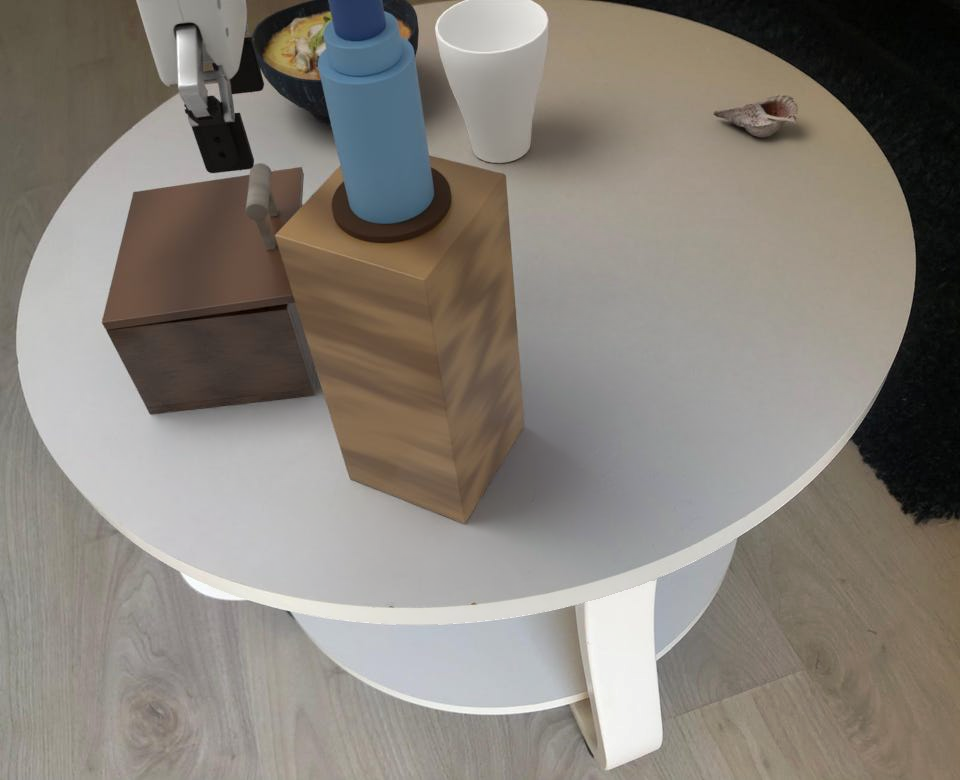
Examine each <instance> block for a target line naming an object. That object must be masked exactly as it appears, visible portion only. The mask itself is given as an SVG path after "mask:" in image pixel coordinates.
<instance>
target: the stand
mask: <svg viewBox="0 0 960 780" xmlns="http://www.w3.org/2000/svg"><path fill="white" fill-rule="evenodd" d="M429 159H430V166H431V167H432V168H434V169H436V170H437V171H439V172H440V173H441V174H442V175H443V176H444V177H445V178H446V180H447V181H448V183H449V186H450V189H451V197H452V199H451V205H450V208H449V211H448V213H447V214H446V216H445V217H444V218H443V219H442V221H441V222H440V223H439V224H437V225H436V226H435V227H434V228H432V229H431V230H429V231H427V232H426V233H424V234H422V235H419V236H417V237H414V238H411V239H408V240H404V241H399V242H392V243H375V242H368V241H363V240H360V239H357V238H354V237H352V236H350V235H348V234H347V233H345V232H344V231H343V230H342V229H341V228H340V227H339V226H338V225H337V223H336V221H335V219H334V216H333V212H332V198H333V196H334V193H335V191H336V190H337V188H338V187H339V186H340V184H341V183H342V182H343V181H344V179H343V175H342V170H341V166H340V165H339V166H338V167H337V168H336V169H335V170H334V172H333V173H331V175H329V177H328V178H327V179H325V181H323V183H322V184H321V185H320V186H319V187H318V189H316V190H315V192H314V193H312V195H311V196H310V197H309V198H308V199H307V200H306V201H305V202H304V203H303V204H302V205H303V206H302V207H301V208H300V209H299V210H298V211H297V212H296V213H295V214H294V215H293V216H292V217H291V219H290V220H289V221H288V222H287V223H286V224H285V225H284V226H283V227H282V228H281V229H280V230H279V231H278V232H277V233H276V235H275V237H276V241H277V244H278V247H279V250H280V254H281V257H282V260H283V263H284V267H285V270H286V273H287V276H288V280H289V283H290V286H291V289H292V293H293V296H294V299H295V303H296V306H297V309H298V312H299V316H300V319H301V322H302V325H303V329H304V332H305V335H306V338H307V342H308V345H309V348H310V351H311V355H312V358H313V361H314V365H315V372H316V375H317V378H318V380H319V384H320V387H321V390H322V394H323V397H324V400H325V404H326V407H327V410H328V414H329V416H330V420H331V424H332V426H333V431H334V433H335V436H336V440H337V443H338V446H339V449H340V452H341V456H342V459H343V462H344V465H345V469H346V472H347V476H348V478H349V479H350V480H352V481H355V482H357V483H360V484H362V485H365V486H367V487H370V488H372V489H375V490H378V491H379V492H381V493H382V492H383V493H385V494H388V495H390V496H393V497H395V498H398V499H400V500H403V501H405V502H408V503H411V504H413V505H415V506H418V507H421V508H423V509H425V510H428V511H431V512H433V513H436V514H439V515H441V516H443V517H445V518H448V519H451V520H454V521H456V522H459V523H461V524H463V525H466V524H467V521H468V520H469V518H470V517H471V515H472V514H473V511H474V510H475V508H476V507H477V505H478V504H479V502H480V500H481V498H482V496H484V493H485V492H486V490H487V488H488V487H489V485H490V484H491V482H492V480H493V478H494V477H495V475H496V474H497V472H498V470H499V469H500V467H501V465H502V464H503V462H504V461H505V459H506V457H507V456H508V454H509V452H510V451H511V449H512V447H513V445H514V444H515V442H516V440H517V439H518V437H519V436H520V434H521V432H522V431H523V429H524V427H525V414H524V401H523V388H522V374H521V373H522V372H521V360H520V359H521V358H520V348H519V332H518V320H517V307H516V306H517V305H516V295H515V294H516V292H515V279H514V267H513V266H514V265H513V253H512V251H513V250H512V239H511V227H510V226H511V225H510V211H509V199H508V197H509V196H508V186H507V175H506V173H502V172H498V171H494V170H490V169H487V168H482V167H478V166H474V165H471V164H466V163H462V162H459V161H454V160H450V159H447V158H443V157H438V156H434V155H430V154H429Z"/></svg>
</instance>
